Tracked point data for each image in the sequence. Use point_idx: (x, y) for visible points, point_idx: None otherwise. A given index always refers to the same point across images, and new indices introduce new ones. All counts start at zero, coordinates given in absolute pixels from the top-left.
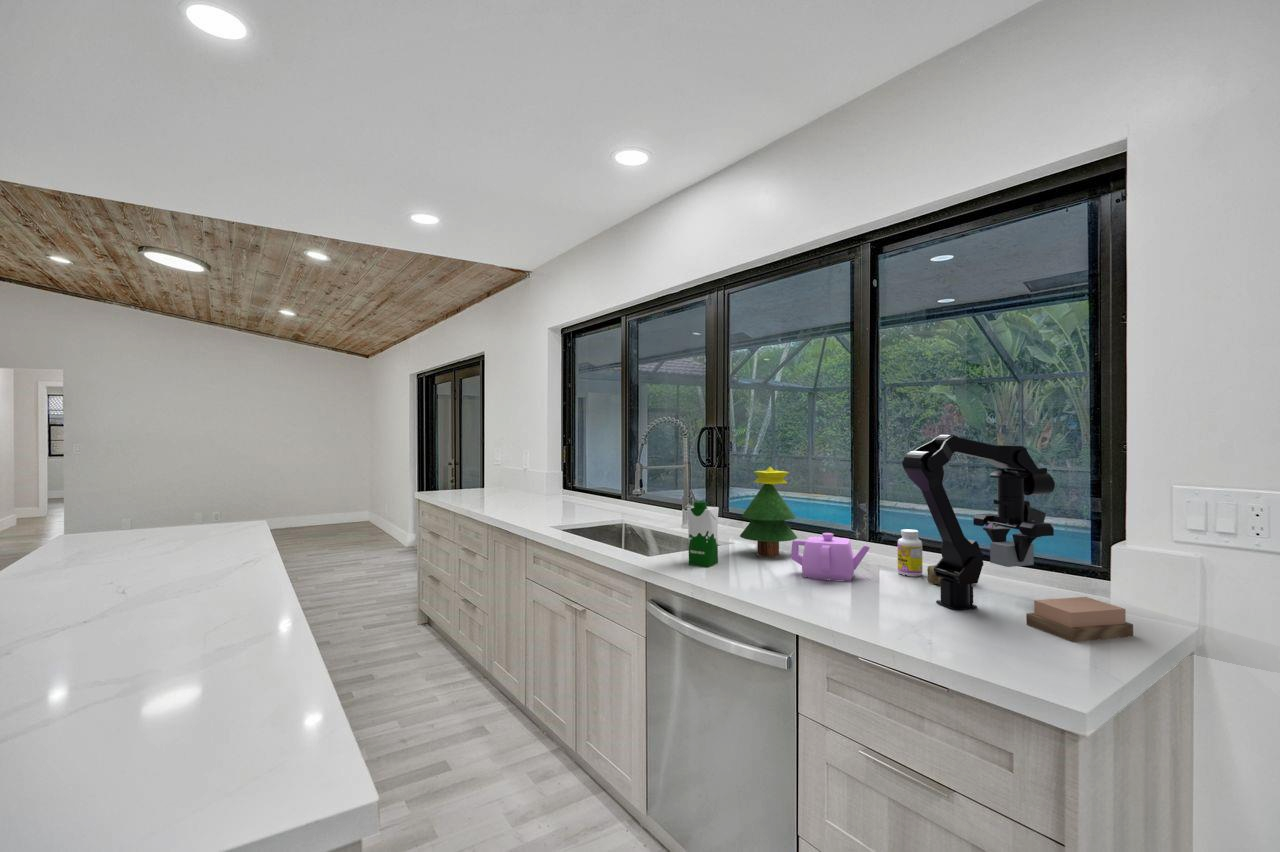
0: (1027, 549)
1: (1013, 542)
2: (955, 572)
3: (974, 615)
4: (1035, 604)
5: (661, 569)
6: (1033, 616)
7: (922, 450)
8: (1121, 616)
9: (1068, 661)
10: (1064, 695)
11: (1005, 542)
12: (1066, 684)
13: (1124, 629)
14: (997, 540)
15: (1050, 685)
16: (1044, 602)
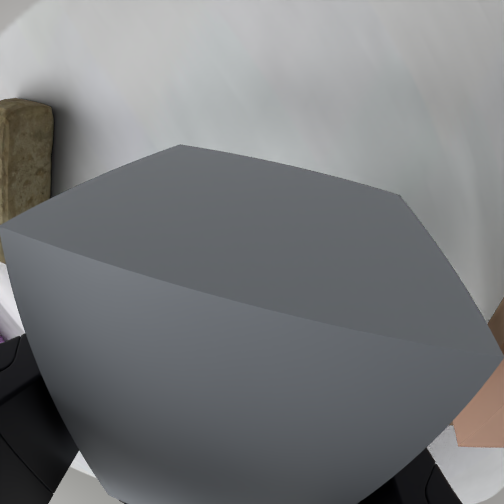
0: (424, 467)
1: (147, 435)
2: (17, 202)
3: None
4: (459, 437)
5: None
6: (450, 424)
7: None
8: None
9: (494, 459)
10: (481, 496)
11: (125, 467)
12: (485, 487)
13: None
14: (61, 457)
15: (472, 495)
16: (481, 441)
